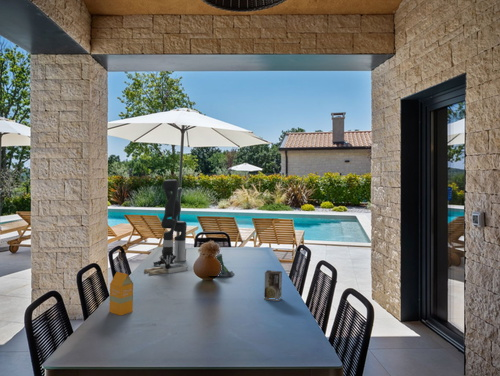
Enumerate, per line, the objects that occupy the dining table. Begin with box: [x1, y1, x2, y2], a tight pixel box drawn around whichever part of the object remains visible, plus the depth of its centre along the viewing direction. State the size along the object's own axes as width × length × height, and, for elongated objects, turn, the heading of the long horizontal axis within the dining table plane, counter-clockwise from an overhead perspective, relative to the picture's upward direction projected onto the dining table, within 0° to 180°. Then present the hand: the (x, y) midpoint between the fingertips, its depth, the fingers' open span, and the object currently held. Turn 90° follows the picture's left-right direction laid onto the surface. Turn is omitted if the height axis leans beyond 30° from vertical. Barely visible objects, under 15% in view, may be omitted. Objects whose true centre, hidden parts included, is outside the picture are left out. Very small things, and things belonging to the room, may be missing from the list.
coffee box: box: [263, 269, 283, 302], centre depth 221 cm, size 9×6×16 cm
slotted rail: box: [143, 266, 169, 276], centre depth 274 cm, size 14×9×2 cm, turn 130°
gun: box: [153, 248, 175, 267], centre depth 297 cm, size 3×17×15 cm
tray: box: [160, 262, 188, 274], centre depth 284 cm, size 16×13×3 cm
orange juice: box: [108, 271, 134, 316], centre depth 192 cm, size 8×9×20 cm
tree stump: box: [216, 253, 235, 278], centre depth 273 cm, size 18×20×18 cm
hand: (167, 268), depth 280 cm, fingers closed
